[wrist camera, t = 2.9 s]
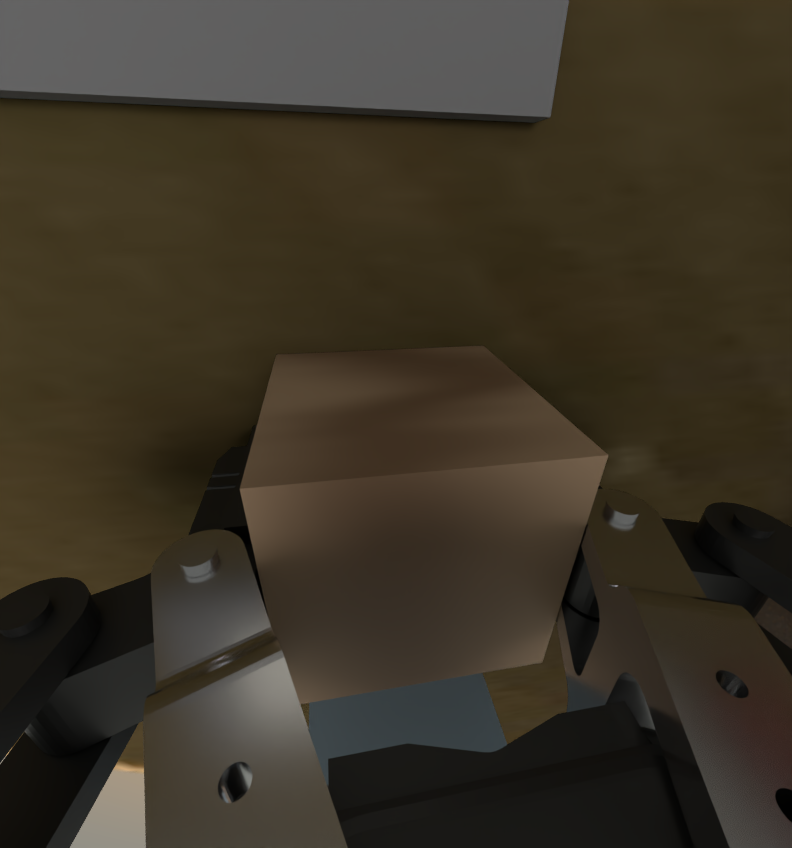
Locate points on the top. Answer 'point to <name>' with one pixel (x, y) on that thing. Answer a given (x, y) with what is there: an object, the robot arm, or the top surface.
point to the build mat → (290, 55)
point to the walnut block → (412, 516)
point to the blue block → (407, 719)
